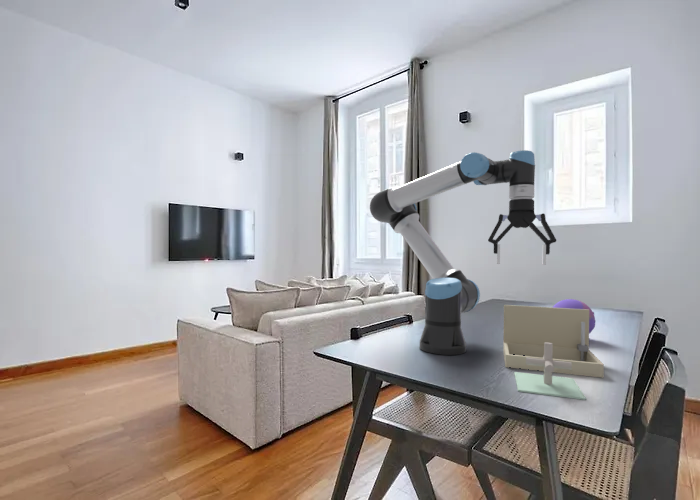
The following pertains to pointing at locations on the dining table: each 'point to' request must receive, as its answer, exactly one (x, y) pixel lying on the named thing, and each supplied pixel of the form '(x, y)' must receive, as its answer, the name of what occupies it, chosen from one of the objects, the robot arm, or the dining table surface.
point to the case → (549, 338)
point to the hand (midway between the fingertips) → (520, 264)
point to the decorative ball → (577, 305)
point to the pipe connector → (548, 363)
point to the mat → (548, 386)
